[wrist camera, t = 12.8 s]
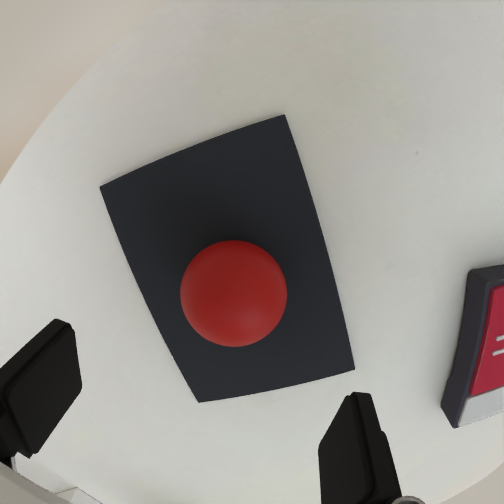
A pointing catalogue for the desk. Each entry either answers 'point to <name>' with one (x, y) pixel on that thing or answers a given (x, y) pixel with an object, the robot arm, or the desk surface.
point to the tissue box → (77, 497)
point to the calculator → (479, 352)
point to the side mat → (243, 229)
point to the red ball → (233, 293)
